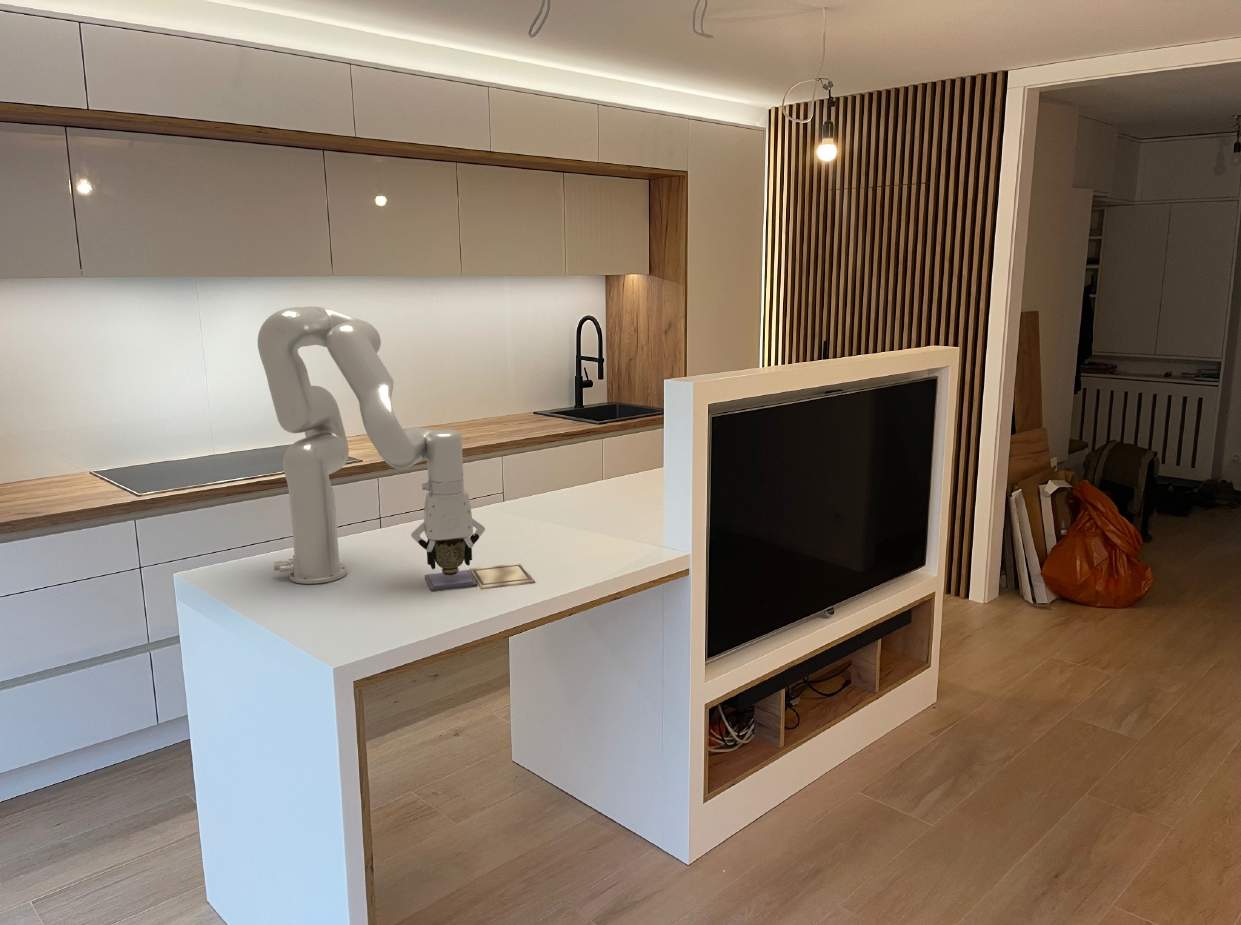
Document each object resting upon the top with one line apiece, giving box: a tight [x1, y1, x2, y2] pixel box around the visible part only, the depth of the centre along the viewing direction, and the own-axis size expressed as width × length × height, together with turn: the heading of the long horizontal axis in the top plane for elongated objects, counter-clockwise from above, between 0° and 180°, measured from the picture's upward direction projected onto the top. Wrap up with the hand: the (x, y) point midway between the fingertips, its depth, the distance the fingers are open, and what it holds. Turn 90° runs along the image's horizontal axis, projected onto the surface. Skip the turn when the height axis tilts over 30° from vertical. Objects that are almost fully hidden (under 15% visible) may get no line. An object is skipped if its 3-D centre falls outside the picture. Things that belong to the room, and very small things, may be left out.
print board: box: [468, 562, 536, 590], centre depth 210 cm, size 12×14×1 cm
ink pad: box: [424, 569, 478, 593], centre depth 206 cm, size 10×10×1 cm
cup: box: [433, 538, 466, 575], centre depth 205 cm, size 8×7×8 cm
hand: (450, 564), depth 205 cm, fingers closed on cup, 7 cm apart
